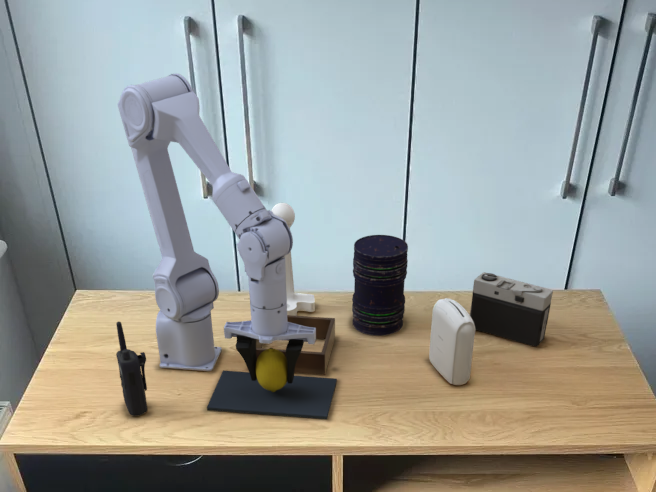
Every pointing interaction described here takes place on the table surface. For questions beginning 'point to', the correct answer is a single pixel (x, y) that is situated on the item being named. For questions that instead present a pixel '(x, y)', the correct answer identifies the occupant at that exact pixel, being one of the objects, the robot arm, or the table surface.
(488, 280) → the camera
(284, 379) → the lemon
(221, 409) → the mat
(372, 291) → the dark navy cylinder
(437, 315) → the photo printer
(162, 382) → the table surface
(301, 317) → the wooden frame
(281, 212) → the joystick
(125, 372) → the two-way radio
